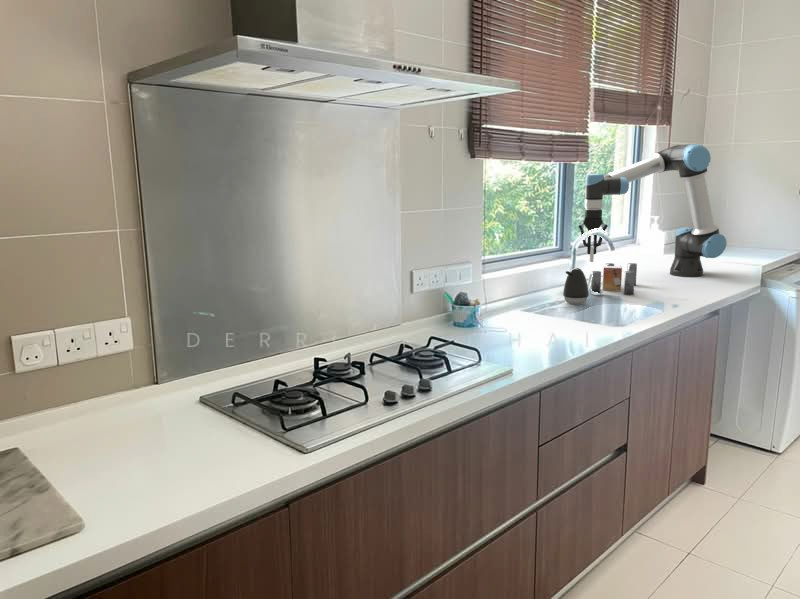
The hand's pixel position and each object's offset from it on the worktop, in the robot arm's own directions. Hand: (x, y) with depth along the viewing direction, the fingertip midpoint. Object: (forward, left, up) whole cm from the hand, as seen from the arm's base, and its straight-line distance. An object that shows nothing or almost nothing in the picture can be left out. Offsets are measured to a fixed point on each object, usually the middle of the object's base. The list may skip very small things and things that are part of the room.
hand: (591, 261), depth 290 cm
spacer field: (-10, 0, -13) cm, 17 cm away
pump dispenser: (+9, +29, -13) cm, 33 cm away
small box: (-9, 0, -13) cm, 16 cm away
